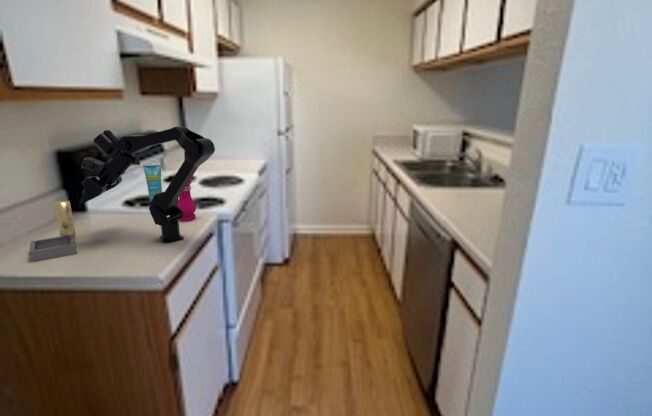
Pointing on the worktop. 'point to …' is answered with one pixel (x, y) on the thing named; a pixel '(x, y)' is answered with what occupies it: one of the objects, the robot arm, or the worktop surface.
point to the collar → (52, 247)
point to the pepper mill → (187, 204)
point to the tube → (153, 179)
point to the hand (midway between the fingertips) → (87, 199)
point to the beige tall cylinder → (64, 218)
